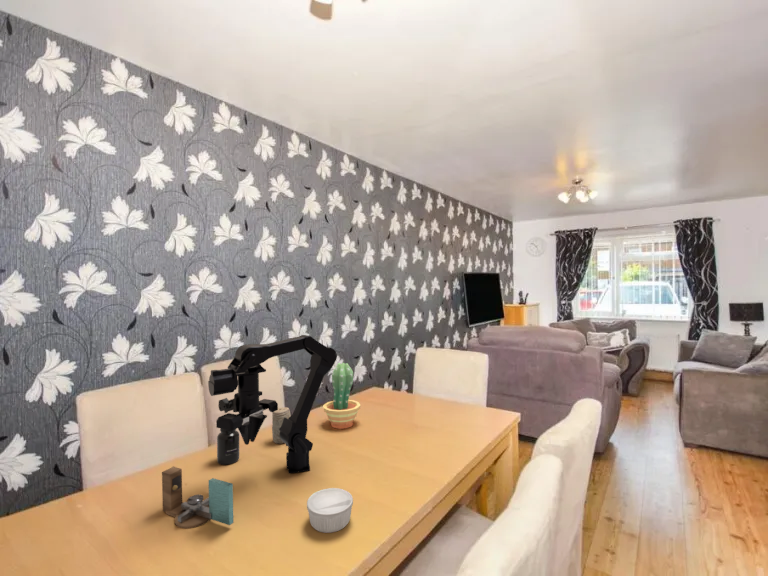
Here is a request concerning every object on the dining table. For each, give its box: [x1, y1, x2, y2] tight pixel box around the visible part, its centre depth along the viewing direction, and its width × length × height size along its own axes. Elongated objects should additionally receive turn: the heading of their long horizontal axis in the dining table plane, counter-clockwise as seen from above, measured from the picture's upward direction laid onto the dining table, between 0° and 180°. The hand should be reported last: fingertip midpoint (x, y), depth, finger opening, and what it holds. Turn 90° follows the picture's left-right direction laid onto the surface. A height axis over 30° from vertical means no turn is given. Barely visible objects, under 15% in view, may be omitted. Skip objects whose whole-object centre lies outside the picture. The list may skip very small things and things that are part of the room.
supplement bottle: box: [216, 428, 240, 466], centre depth 126 cm, size 7×7×12 cm
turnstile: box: [178, 477, 234, 526], centre depth 94 cm, size 9×16×9 cm, turn 65°
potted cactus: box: [322, 362, 361, 430], centre depth 157 cm, size 15×15×25 cm
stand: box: [161, 466, 212, 529], centre depth 97 cm, size 9×15×10 cm, turn 65°
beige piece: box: [271, 406, 292, 445], centre depth 141 cm, size 6×8×12 cm
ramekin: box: [306, 487, 354, 534], centre depth 93 cm, size 11×11×5 cm
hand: (249, 442), depth 111 cm, fingers closed
